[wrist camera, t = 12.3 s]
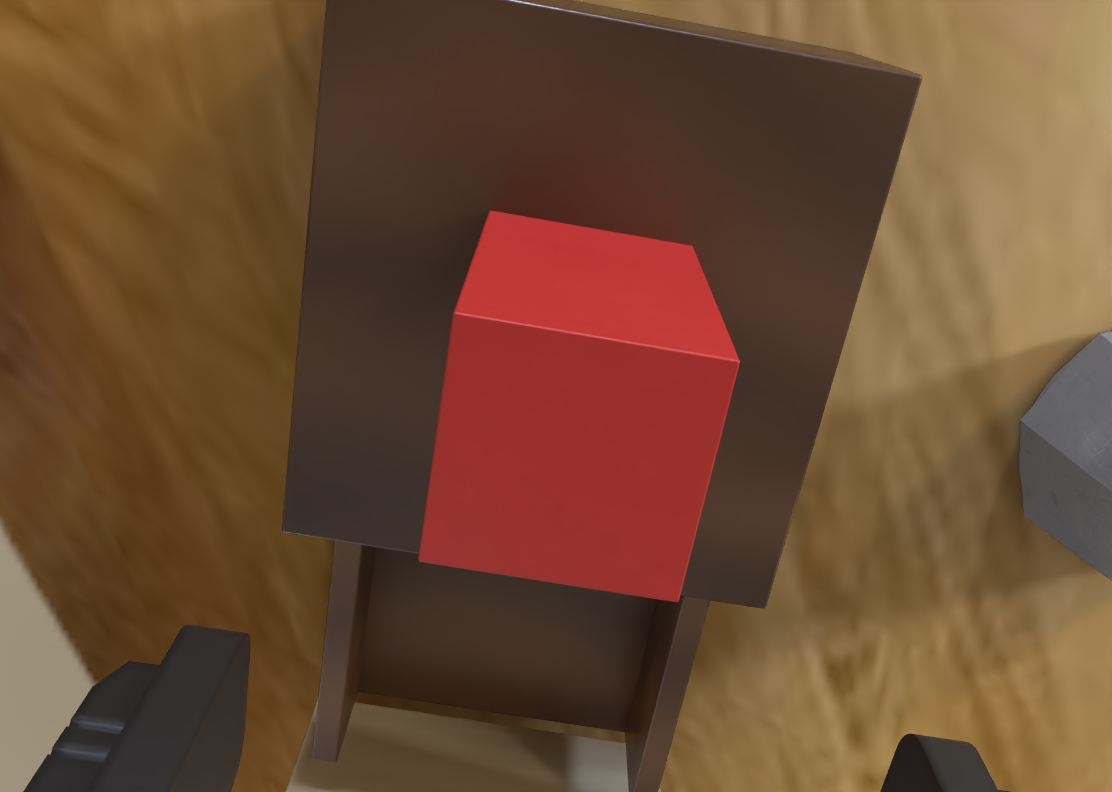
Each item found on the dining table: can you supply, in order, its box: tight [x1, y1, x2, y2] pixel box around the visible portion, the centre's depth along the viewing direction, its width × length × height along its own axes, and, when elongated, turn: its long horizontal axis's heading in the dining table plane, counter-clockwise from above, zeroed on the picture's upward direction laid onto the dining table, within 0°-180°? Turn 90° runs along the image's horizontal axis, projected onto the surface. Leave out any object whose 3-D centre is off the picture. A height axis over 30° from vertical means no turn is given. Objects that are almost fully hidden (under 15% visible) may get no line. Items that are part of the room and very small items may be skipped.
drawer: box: [286, 541, 710, 792], centre depth 35 cm, size 18×12×5 cm
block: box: [418, 211, 740, 602], centre depth 23 cm, size 5×5×8 cm
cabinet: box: [282, 0, 922, 609], centre depth 29 cm, size 15×14×7 cm
